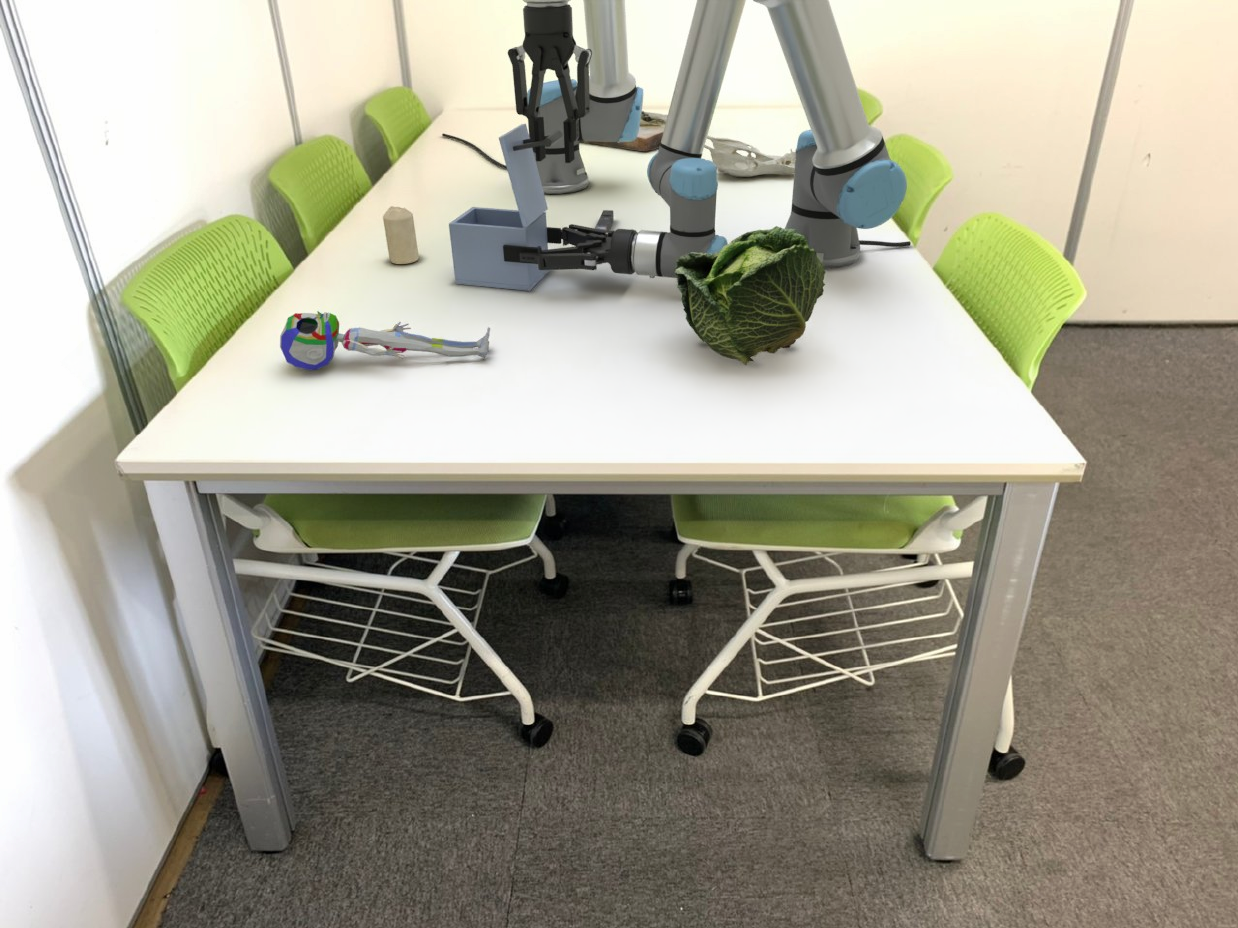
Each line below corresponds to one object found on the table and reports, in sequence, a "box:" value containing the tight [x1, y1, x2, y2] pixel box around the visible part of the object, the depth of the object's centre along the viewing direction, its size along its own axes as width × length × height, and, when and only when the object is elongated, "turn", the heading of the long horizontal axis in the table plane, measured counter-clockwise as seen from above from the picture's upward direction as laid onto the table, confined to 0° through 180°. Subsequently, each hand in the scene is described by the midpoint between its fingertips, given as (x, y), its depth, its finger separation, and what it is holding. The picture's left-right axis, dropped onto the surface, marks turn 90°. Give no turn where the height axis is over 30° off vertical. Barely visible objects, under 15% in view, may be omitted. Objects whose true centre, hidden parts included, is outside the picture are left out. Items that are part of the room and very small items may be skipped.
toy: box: [279, 311, 491, 371], centre depth 133 cm, size 10×8×30 cm
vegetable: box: [674, 225, 826, 366], centre depth 131 cm, size 20×19×20 cm
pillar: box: [594, 209, 615, 231], centre depth 182 cm, size 2×2×20 cm
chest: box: [448, 206, 550, 292], centre depth 161 cm, size 14×10×11 cm
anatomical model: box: [704, 135, 796, 178], centre depth 219 cm, size 15×9×25 cm
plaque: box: [579, 110, 668, 152], centre depth 257 cm, size 30×7×30 cm
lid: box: [498, 123, 563, 227], centre depth 151 cm, size 15×10×8 cm
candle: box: [382, 205, 420, 265], centre depth 169 cm, size 6×6×10 cm
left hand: (555, 160), depth 150 cm, fingers open, 4 cm apart
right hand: (515, 243), depth 159 cm, fingers closed on chest, 10 cm apart
